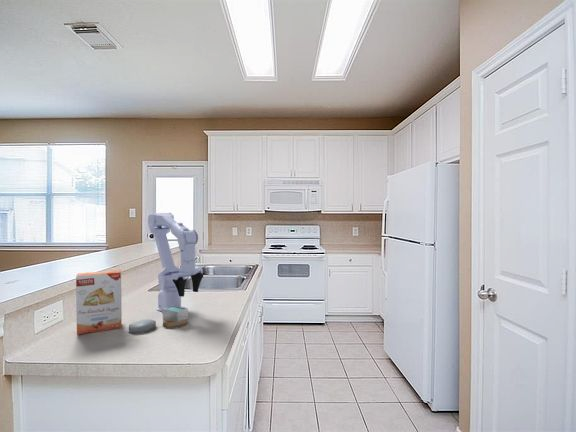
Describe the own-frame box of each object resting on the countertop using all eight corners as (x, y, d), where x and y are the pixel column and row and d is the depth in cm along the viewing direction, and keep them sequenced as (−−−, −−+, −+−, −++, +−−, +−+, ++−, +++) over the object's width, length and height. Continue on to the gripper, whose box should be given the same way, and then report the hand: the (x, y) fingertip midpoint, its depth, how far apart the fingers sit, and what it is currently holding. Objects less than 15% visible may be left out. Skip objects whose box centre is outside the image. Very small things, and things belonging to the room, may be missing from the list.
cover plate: (165, 311, 119) (165, 309, 119) (172, 308, 122) (172, 306, 122) (177, 313, 116) (177, 311, 116) (184, 311, 119) (184, 309, 119)
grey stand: (123, 330, 113) (123, 325, 113) (145, 322, 121) (144, 318, 121) (139, 335, 109) (139, 329, 108) (161, 326, 116) (161, 321, 116)
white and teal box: (162, 319, 119) (162, 309, 119) (173, 315, 123) (172, 305, 123) (177, 322, 115) (177, 311, 115) (187, 318, 120) (187, 308, 120)
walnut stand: (157, 325, 117) (157, 321, 117) (176, 318, 125) (176, 313, 125) (174, 329, 113) (174, 324, 113) (192, 321, 121) (192, 317, 121)
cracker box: (76, 335, 109) (75, 275, 109) (78, 330, 114) (77, 272, 114) (121, 328, 116) (120, 271, 115) (122, 323, 121) (120, 269, 121)
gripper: (181, 263, 118) (182, 299, 118) (208, 258, 131) (208, 290, 131) (168, 262, 122) (169, 297, 122) (195, 257, 134) (196, 289, 135)
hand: (188, 293), depth 127 cm, fingers open, 7 cm apart
